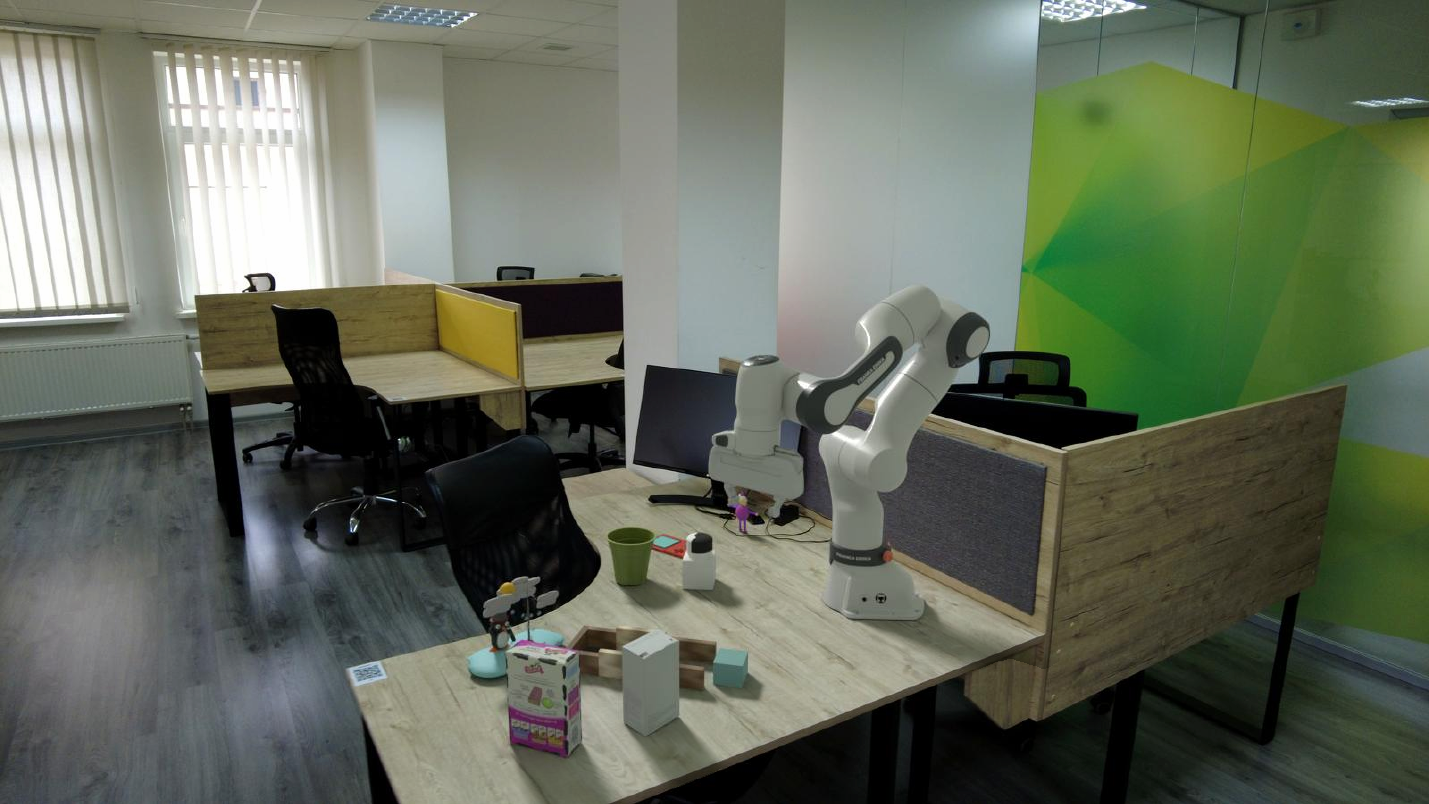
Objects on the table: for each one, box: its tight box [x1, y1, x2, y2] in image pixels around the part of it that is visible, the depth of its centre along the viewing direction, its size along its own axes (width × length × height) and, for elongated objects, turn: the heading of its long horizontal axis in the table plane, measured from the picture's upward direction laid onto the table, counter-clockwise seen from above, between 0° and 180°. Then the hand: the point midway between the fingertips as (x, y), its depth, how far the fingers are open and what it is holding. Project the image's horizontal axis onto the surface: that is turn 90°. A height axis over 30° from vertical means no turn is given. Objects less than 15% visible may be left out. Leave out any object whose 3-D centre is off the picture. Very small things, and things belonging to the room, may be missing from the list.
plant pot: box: [605, 526, 657, 586], centre depth 200 cm, size 12×12×11 cm
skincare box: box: [622, 628, 680, 737], centre depth 143 cm, size 8×6×15 cm
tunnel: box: [565, 624, 718, 691], centre depth 162 cm, size 27×11×5 cm, turn 77°
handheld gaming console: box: [651, 533, 687, 560], centre depth 221 cm, size 9×1×15 cm
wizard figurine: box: [726, 490, 759, 534], centre depth 231 cm, size 11×3×12 cm, turn 45°
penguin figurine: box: [466, 576, 565, 679], centre depth 164 cm, size 20×11×15 cm, turn 135°
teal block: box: [712, 647, 749, 689], centre depth 158 cm, size 6×6×4 cm
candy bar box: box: [505, 640, 583, 758], centre depth 137 cm, size 11×5×16 cm, turn 69°
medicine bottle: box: [681, 532, 717, 591], centre depth 198 cm, size 7×7×12 cm
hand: (753, 510), depth 164 cm, fingers open, 8 cm apart
